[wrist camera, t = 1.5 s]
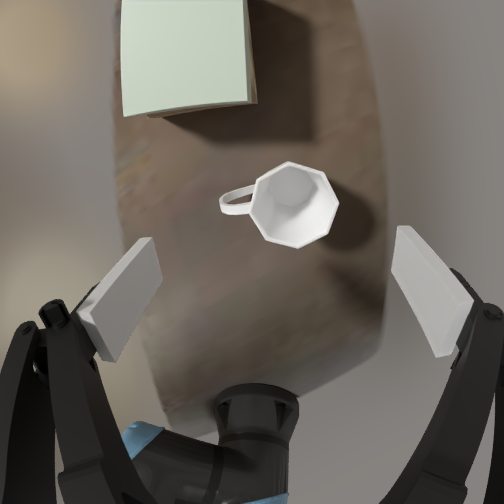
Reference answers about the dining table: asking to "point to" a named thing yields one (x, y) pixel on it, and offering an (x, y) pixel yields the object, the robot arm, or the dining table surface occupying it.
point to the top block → (183, 54)
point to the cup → (288, 204)
